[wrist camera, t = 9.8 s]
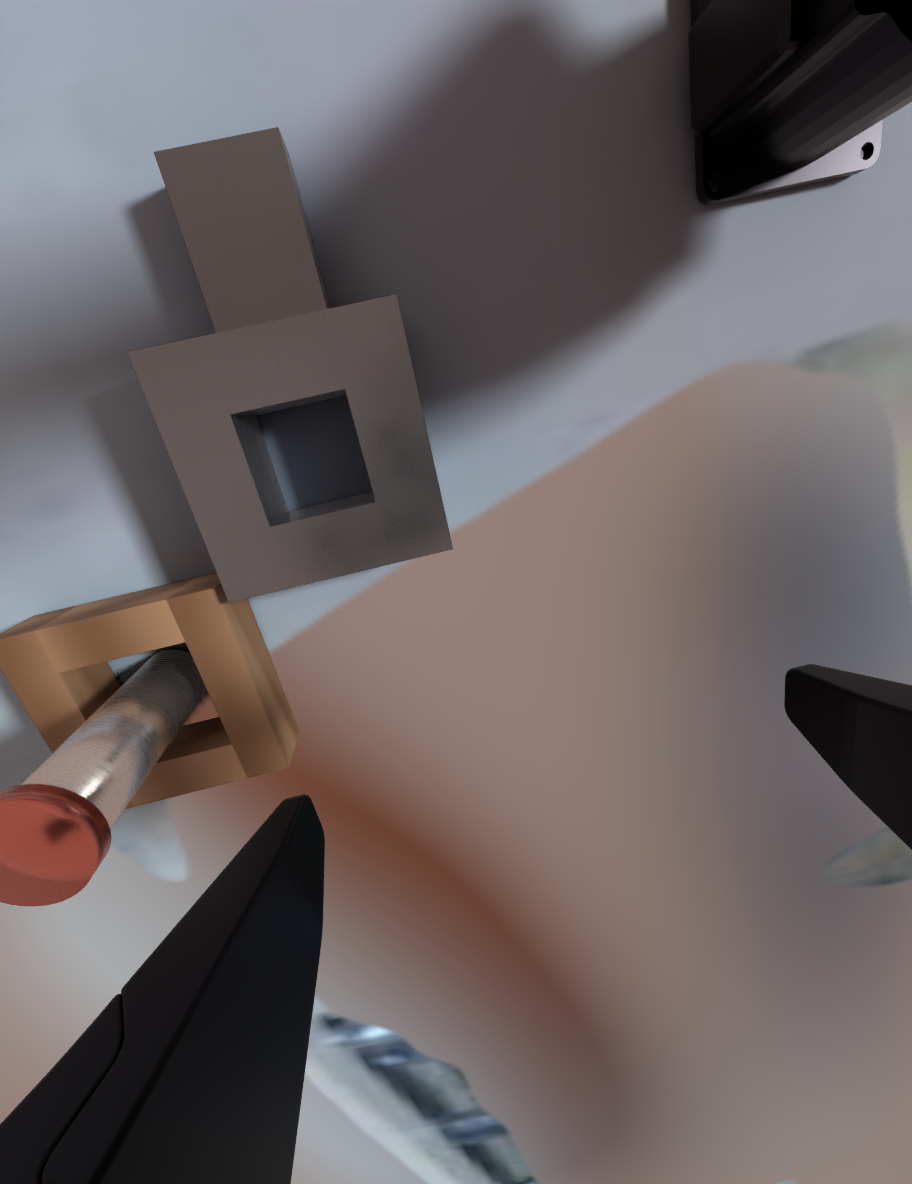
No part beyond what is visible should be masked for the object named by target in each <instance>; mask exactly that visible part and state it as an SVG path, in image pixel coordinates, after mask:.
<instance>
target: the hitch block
mask: <svg viewBox="0 0 912 1184" xmlns="http://www.w3.org/2000/svg"><path fill="white" fill-rule="evenodd" d="M154 154H155V157H156V160H157V163H158V166H159V169H160V172H161V175H162V178H163V181H164V183H165V186H166V189H167V192H168V195H169V198H170V201H171V204H172V207H173V210H174V213H175V215H176V218H177V221H178V224H179V227H180V230H181V233H182V236H183V239H184V242H185V244H186V247H187V250H188V253H189V256H190V259H191V262H192V265H193V268H194V271H195V274H196V276H197V279H198V282H199V285H200V288H201V291H202V294H203V297H204V300H205V303H206V306H207V308H208V311H209V314H210V317H211V320H212V323H213V326H214V329H215V332H216V333H214V334H209V335H205V336H200V337H195V338H191V339H186V340H181V341H177V342H172V343H168V344H163V345H158V346H154V347H149V348H144V349H140V350H135V351H131V352H127V353H128V356H129V358H130V361H131V363H132V366H133V368H134V371H135V373H136V375H137V378H138V380H139V383H140V385H141V388H142V390H143V393H144V395H145V398H146V400H147V402H148V405H149V407H150V410H151V412H152V415H153V417H154V420H155V422H156V425H157V427H158V430H159V432H160V434H161V437H162V439H163V442H164V444H165V447H166V449H167V452H168V454H169V457H170V459H171V462H172V464H173V466H174V469H175V471H176V474H177V476H178V479H179V481H180V484H181V486H182V489H183V491H184V494H185V496H186V498H187V501H188V503H189V506H190V508H191V511H192V513H193V516H194V518H195V521H196V523H197V525H198V528H199V530H200V533H201V535H202V538H203V540H204V543H205V545H206V548H207V550H208V553H209V555H210V557H211V560H212V562H213V565H214V567H215V570H216V572H217V575H218V577H219V580H220V582H221V585H222V587H223V589H224V592H225V594H226V597H227V599H228V602H234V601H238V600H242V599H246V598H250V597H255V596H259V595H263V594H267V593H271V592H276V591H280V590H284V589H288V588H292V587H296V586H301V585H305V584H309V583H313V582H317V581H322V580H326V579H330V578H334V577H338V576H342V575H347V574H351V573H355V572H359V571H363V570H368V569H372V568H376V567H380V566H384V565H389V564H393V563H397V562H401V561H405V560H409V559H414V558H418V557H422V556H426V555H430V554H435V553H439V552H443V551H447V550H451V549H453V547H452V542H451V538H450V533H449V529H448V524H447V520H446V515H445V511H444V506H443V502H442V497H441V493H440V488H439V484H438V479H437V475H436V470H435V466H434V461H433V457H432V452H431V447H430V443H429V438H428V434H427V429H426V425H425V420H424V416H423V411H422V407H421V402H420V398H419V393H418V389H417V384H416V380H415V375H414V371H413V366H412V362H411V357H410V353H409V348H408V344H407V339H406V335H405V330H404V326H403V321H402V317H401V312H400V308H399V303H398V299H397V294H394V295H390V296H385V297H380V298H376V299H371V300H366V301H362V302H357V303H353V304H348V305H343V306H339V307H334V308H330V307H329V303H328V299H327V296H326V292H325V288H324V284H323V281H322V277H321V273H320V269H319V266H318V262H317V258H316V254H315V250H314V247H313V243H312V239H311V235H310V232H309V228H308V224H307V220H306V217H305V213H304V209H303V205H302V202H301V198H300V194H299V190H298V187H297V183H296V179H295V175H294V172H293V168H292V164H291V160H290V157H289V153H288V151H287V148H286V146H285V143H284V140H283V138H282V135H281V133H280V130H279V128H278V127H277V128H272V129H267V130H262V131H257V132H252V133H247V134H242V135H237V136H232V137H227V138H222V139H217V140H212V141H207V142H202V143H197V144H192V145H187V146H182V147H177V148H172V149H167V150H162V151H157V152H154ZM345 395H347V398H348V402H349V406H350V409H351V413H352V417H353V420H354V424H355V428H356V431H357V435H358V439H359V443H360V446H361V450H362V454H363V457H364V461H365V465H366V468H367V472H368V476H369V480H370V483H371V487H372V491H373V492H370V493H365V494H361V495H357V496H352V497H348V498H344V499H339V500H335V501H331V502H326V503H322V504H318V505H314V506H309V507H305V508H301V509H296V510H292V511H288V509H287V506H286V503H285V500H284V497H283V494H282V491H281V488H280V485H279V482H278V479H277V477H276V474H275V471H274V468H273V465H272V462H271V459H270V456H269V453H268V450H267V447H266V444H265V441H264V438H263V435H262V432H261V429H260V426H259V423H258V420H257V417H256V415H260V414H265V413H269V412H274V411H278V410H283V409H287V408H292V407H296V406H301V405H305V404H310V403H314V402H318V401H323V400H327V399H332V398H336V397H341V396H345Z"/></svg>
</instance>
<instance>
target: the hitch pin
mask: <svg viewBox="0 0 912 1184" xmlns="http://www.w3.org/2000/svg"><path fill="white" fill-rule="evenodd" d="M206 690H207V689H206V686H205V684H204V682H203V680H202V678H201V675H200V673H199V671H198V669H197V667H196V664H195V662H194V660H193V658H192V656H191V653H189V652H186V651H183V650H176V649H170V650H164V651H161V652H158V653H156V654H155V655H153V656H152V657H151V658H150V659H149V660H148V661H147V662H146V663H145V664H144V665H143V666H142V667H141V668H140V669H138V670H137V671H136V672H135V673H134V674H133V675H132V676H131V677H130V678H129V679H128V680H127V681H126V682H125V683H124V684H123V685H122V686H121V687H120V688H119V689H118V690H117V691H116V692H115V693H114V694H113V695H112V696H111V697H110V698H109V699H108V700H107V701H106V702H105V703H104V704H103V705H102V706H101V707H100V708H99V709H98V710H96V711H95V712H94V713H93V714H92V715H91V716H90V717H89V718H88V719H87V720H86V721H85V722H84V723H83V724H82V725H81V726H80V727H79V728H78V729H77V730H76V731H75V732H74V733H73V734H72V735H71V736H70V737H69V738H68V739H67V740H66V741H65V742H64V743H63V744H62V745H61V746H60V747H59V748H58V749H57V750H55V751H54V752H53V753H52V754H51V755H50V756H49V757H48V758H47V759H46V760H45V761H44V762H43V763H42V764H41V765H40V766H39V767H38V768H37V769H36V770H35V771H34V772H33V773H32V774H31V775H30V776H29V777H28V778H27V779H26V780H25V781H24V782H23V783H22V784H21V785H18V786H13V787H10V788H7V789H4V790H2V791H0V902H3V903H7V904H12V905H19V906H43V905H50V904H54V903H58V902H61V901H64V900H66V899H68V898H70V897H72V896H74V895H75V894H77V893H78V892H79V891H81V890H82V889H83V888H84V887H85V886H86V885H87V883H88V882H89V880H90V879H91V877H92V875H93V874H94V873H95V871H96V870H97V868H98V867H99V865H100V864H101V862H102V861H103V859H104V858H105V856H106V855H107V852H108V850H109V848H110V844H111V830H110V829H111V828H112V826H113V825H114V823H115V822H116V820H117V819H118V817H119V816H120V815H121V813H122V812H123V810H124V809H125V807H126V806H127V804H128V803H129V802H130V800H131V799H132V797H133V796H134V794H135V793H136V791H137V790H138V789H139V787H140V786H141V784H142V783H143V781H144V780H145V778H146V777H147V776H148V774H149V773H150V771H151V770H152V768H153V767H154V765H155V764H156V763H157V761H158V760H159V758H160V757H161V755H162V754H163V753H164V751H165V750H166V748H167V747H168V745H169V744H170V742H171V741H172V740H173V738H174V737H175V735H176V734H177V732H178V731H179V729H180V728H181V727H182V725H183V724H184V722H185V721H186V719H187V718H188V716H189V715H190V714H191V712H192V711H193V709H194V708H195V706H196V705H197V703H198V702H199V701H200V699H201V698H202V696H203V695H204V693H205V692H206Z"/></svg>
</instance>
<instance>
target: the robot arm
mask: <svg viewBox="0 0 912 1184" xmlns="http://www.w3.org/2000/svg"><path fill="white" fill-rule="evenodd" d="M691 27H692V29H691V31H690V33H689V61H690V92H691V123H692V128H693V130H694V132H695V158H696V190H697V196H698V198H699V200H700V202H701V203H703V204H705V205H713V204H718V203H722V202H727V201H732V200H736V199H741V198H746V197H750V196H755V195H760V194H764V193H769V192H774V191H778V190H783V189H788V188H792V187H797V186H802V185H806V184H811V183H816V182H820V181H825V180H830V179H834V178H839V177H844V176H848V175H853V174H857V173H859V172H861V171H863V170H865V169H867V168H868V167H870V166H872V165H873V164H874V163H875V162H876V160H877V158H878V156H879V153H880V148H881V136H882V122H883V119H884V118H886V117H888V116H889V115H891V114H892V113H894V112H896V111H897V110H899V109H901V108H902V107H904V106H905V105H907V104H909V103H910V102H912V0H691ZM861 149H862V150H863V154H864V156H863V159H862V158H861V155H860V151H861ZM711 179H712V180H714V181H715V182H716V184H717V190H716V192H714V191H713V190H712V189H711V187H710V181H711ZM784 705H785V711H786V713H787V716H788V717H789V719H790V720H791V722H792V723H793V724H794V725H795V726H796V727H797V728H798V730H799V731H800V732H801V733H802V735H803V736H804V737H805V738H806V739H807V740H808V741H809V743H810V744H811V745H812V746H813V747H814V748H815V750H816V751H817V752H818V753H819V754H820V755H821V757H822V758H823V759H824V760H825V761H826V762H827V764H828V765H829V766H830V767H831V768H832V769H833V771H834V772H835V773H836V774H837V775H838V776H839V778H840V779H841V780H842V781H843V782H844V783H845V784H846V785H847V786H848V787H849V789H850V790H851V791H852V792H853V793H854V794H855V795H856V796H857V797H858V798H859V799H860V800H861V801H862V802H863V803H864V804H865V805H866V806H867V807H868V808H870V810H871V811H872V812H874V814H875V815H877V816H878V817H879V818H880V819H881V820H882V821H883V822H884V823H885V824H886V825H887V826H888V827H889V828H890V829H891V830H892V831H893V832H894V833H895V834H896V835H897V836H898V837H899V838H900V839H901V840H902V841H903V842H904V843H905V844H906V845H907V846H908V847H909V848H910V849H911V850H912V685H907V684H902V683H898V682H893V681H889V680H884V679H879V678H875V677H870V676H865V675H861V674H856V673H851V672H847V671H842V670H838V669H833V668H828V667H823V666H819V665H814V664H807V665H803V666H799V667H796V668H792V669H790V670H788V671H787V673H786V676H785V704H784ZM324 856H325V837H324V831H323V828H322V825H321V822H320V820H319V817H318V815H317V812H316V810H315V807H314V805H313V803H312V800H311V798H310V797H309V796H308V795H306V794H302V795H299V796H294V797H290V798H287V799H285V800H284V801H282V802H281V803H280V805H279V806H278V807H277V808H276V809H275V810H274V812H273V813H272V814H271V815H270V816H269V818H268V819H267V820H266V821H265V822H264V823H263V824H262V826H261V827H260V828H259V829H258V830H257V831H256V833H255V834H254V835H253V836H252V837H251V838H250V840H249V841H248V842H247V843H246V844H245V845H244V847H243V848H242V849H241V850H240V851H239V853H238V854H237V855H236V856H235V857H234V858H233V859H232V861H231V862H230V863H229V864H228V865H227V866H226V868H225V869H224V870H223V871H222V872H221V874H220V875H219V876H218V877H217V878H216V879H215V880H214V882H213V883H212V884H211V885H210V886H209V887H208V889H207V890H206V891H205V892H204V893H203V894H202V896H201V897H200V898H199V899H198V901H197V902H196V903H195V904H194V905H193V906H192V907H191V909H190V910H189V911H188V912H187V913H186V915H184V917H183V918H182V919H181V920H180V922H179V923H178V924H177V925H176V926H175V927H174V928H173V929H172V931H171V932H170V933H169V934H168V935H167V936H166V938H165V939H164V940H163V941H162V943H161V944H160V945H159V946H158V947H157V948H156V949H155V951H154V952H153V953H152V954H151V955H150V956H149V957H148V959H147V960H146V961H145V962H144V963H143V965H142V966H141V967H140V968H139V969H138V970H137V972H136V973H135V974H134V975H133V976H132V977H131V978H130V980H129V981H128V982H127V983H126V984H125V986H124V987H123V988H122V990H121V994H117V995H116V996H115V997H114V998H113V999H112V1000H111V1002H110V1003H109V1004H108V1005H107V1006H106V1007H105V1009H104V1010H103V1011H102V1012H101V1013H100V1014H99V1016H98V1017H97V1018H96V1019H95V1020H94V1021H93V1023H92V1024H91V1025H90V1026H89V1027H88V1028H87V1029H86V1031H85V1032H84V1033H83V1034H82V1035H81V1036H80V1037H79V1039H78V1040H77V1041H76V1042H75V1043H74V1044H73V1045H72V1047H71V1048H70V1049H69V1050H68V1051H67V1052H66V1053H65V1054H64V1056H63V1057H62V1058H61V1059H60V1060H59V1061H58V1062H57V1063H56V1065H55V1066H54V1067H53V1068H52V1069H51V1070H50V1071H49V1072H48V1073H47V1075H46V1076H45V1077H44V1078H43V1079H42V1080H41V1081H40V1082H39V1083H38V1084H37V1085H36V1086H35V1087H34V1089H33V1090H32V1091H31V1092H30V1093H29V1094H28V1095H27V1096H26V1097H25V1098H24V1099H23V1100H22V1101H21V1103H20V1104H19V1105H18V1106H17V1107H16V1108H15V1109H14V1110H13V1111H12V1112H11V1113H10V1115H9V1116H8V1117H7V1118H6V1119H5V1120H4V1121H3V1122H2V1123H1V1124H0V1184H291V1175H292V1168H293V1160H294V1152H295V1144H296V1136H297V1128H298V1121H299V1113H300V1105H301V1098H302V1090H303V1082H304V1074H305V1066H306V1059H307V1051H308V1043H309V1035H310V1027H311V1020H312V1012H313V1004H314V996H315V988H316V980H317V972H318V965H319V957H320V949H321V939H322V929H323V899H324Z"/></svg>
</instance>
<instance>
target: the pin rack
mask: <svg viewBox="0 0 912 1184" xmlns="http://www.w3.org/2000/svg"><path fill="white" fill-rule="evenodd" d="M184 642H186V645H187V647H188V649H189V651H190V653H191V656H192V658H193V660H194V662H195V664H196V667H197V669H198V671H199V673H200V675H201V678H202V680H203V682H204V684H205V686H206V689H207V691H208V693H209V695H210V697H211V700H212V702H213V704H214V706H215V708H216V710H217V713H218V715H219V717H217V718H213V719H209V720H205V721H201V722H197V723H193V724H189V725H185V726H182V727H181V728H180V729H179V731H178V732H177V734H176V735H175V737H174V738H173V740H172V741H171V742H170V744H169V745H168V747H167V748H166V750H165V751H164V753H163V754H162V755H161V757H160V758H159V760H158V761H157V763H156V764H155V765H154V767H153V768H152V770H151V771H150V773H149V774H148V776H147V777H146V778H145V780H144V781H143V783H142V784H141V786H140V787H139V789H138V790H137V791H136V793H135V794H134V796H133V797H132V799H131V800H130V802H129V803H128V804H127V806H126V807H125V809H127V808H131V807H135V806H139V805H143V804H147V803H151V802H155V801H159V800H163V799H167V798H171V797H175V796H178V795H182V794H186V793H190V792H194V791H198V790H202V789H206V788H210V787H214V786H217V785H221V784H225V783H229V782H234V781H237V780H241V779H245V778H249V777H253V776H257V775H261V774H265V773H269V772H273V771H277V770H281V769H285V768H288V767H289V764H290V760H291V757H292V753H293V750H294V747H295V744H296V741H297V737H298V734H299V729H298V726H297V724H296V721H295V719H294V716H293V714H292V711H291V709H290V706H289V703H288V701H287V698H286V696H285V694H284V691H283V688H282V686H281V683H280V680H279V678H278V675H277V673H276V670H275V668H274V665H273V662H272V660H271V657H270V655H269V652H268V650H267V647H266V645H265V642H264V639H263V637H262V634H261V632H260V629H259V627H258V624H257V622H256V619H255V616H254V614H253V611H252V609H251V606H250V604H249V601H248V598H246V599H242V600H238V601H234V602H228V599H227V597H226V594H225V592H224V589H223V587H222V585H221V582H220V580H219V577H218V575H217V573H213V574H209V575H204V576H200V577H196V578H192V579H188V580H183V581H179V582H175V583H171V584H166V585H162V586H158V587H154V588H149V589H145V590H141V591H137V592H132V593H128V594H124V595H120V596H116V597H111V598H107V599H103V600H99V601H94V602H90V603H86V604H82V605H77V606H73V607H69V608H65V609H61V610H56V611H52V612H48V613H44V614H39V615H35V616H33V617H31V618H29V619H27V620H26V621H24V622H22V623H20V624H18V625H16V626H15V627H13V628H11V629H9V630H7V631H5V632H3V633H2V634H0V668H1V670H2V672H3V673H4V675H5V676H6V678H7V680H8V681H9V683H10V684H11V686H12V688H13V689H14V691H15V693H16V694H17V696H18V697H19V699H20V701H21V702H22V704H23V706H24V707H25V709H26V710H27V712H28V714H29V715H30V717H31V719H32V720H33V722H34V723H35V725H36V727H37V728H38V730H39V732H40V733H41V735H42V736H43V738H44V740H45V741H46V743H47V744H48V746H49V748H50V749H51V751H52V753H53V752H54V751H55V750H57V749H58V748H59V747H60V746H61V745H62V744H63V743H64V742H65V741H66V740H67V739H68V738H69V737H70V736H71V735H72V734H73V733H74V732H75V731H76V730H77V729H78V728H79V727H80V726H81V725H82V724H83V723H84V722H85V721H86V720H87V719H88V718H89V717H90V716H91V715H92V714H93V713H94V712H95V711H96V710H98V709H99V708H100V707H101V706H102V705H103V704H104V703H105V702H106V701H107V700H108V699H109V698H110V697H111V696H112V695H113V694H114V693H115V692H116V691H117V690H118V689H119V688H120V687H121V686H120V685H119V683H118V681H117V679H116V677H115V675H114V673H113V671H112V669H111V667H110V666H109V664H108V662H107V661H110V660H114V659H118V658H122V657H126V656H130V655H134V654H139V653H143V652H147V651H151V650H155V649H159V648H163V647H168V646H172V645H176V644H180V643H184Z"/></svg>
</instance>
